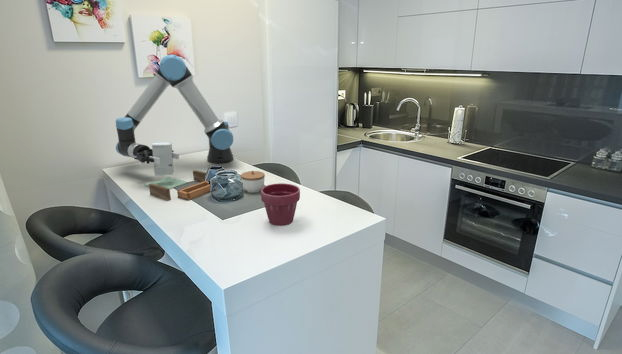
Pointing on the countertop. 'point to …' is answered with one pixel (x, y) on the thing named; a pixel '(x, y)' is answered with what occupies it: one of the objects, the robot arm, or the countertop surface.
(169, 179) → the pad
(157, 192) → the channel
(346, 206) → the countertop surface
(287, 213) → the plant pot
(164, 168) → the skincare box
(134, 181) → the countertop surface
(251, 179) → the lidded jar
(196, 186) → the brown rectangular tray
